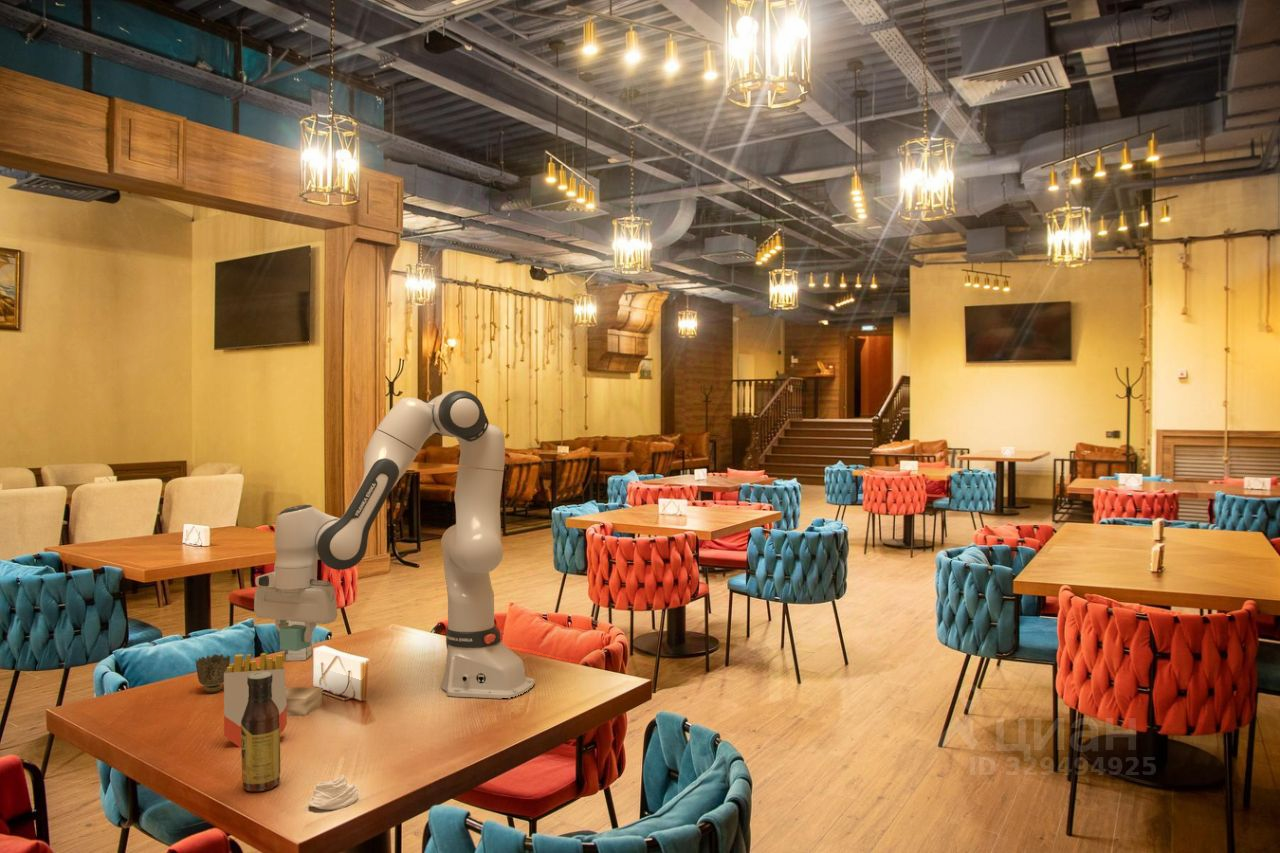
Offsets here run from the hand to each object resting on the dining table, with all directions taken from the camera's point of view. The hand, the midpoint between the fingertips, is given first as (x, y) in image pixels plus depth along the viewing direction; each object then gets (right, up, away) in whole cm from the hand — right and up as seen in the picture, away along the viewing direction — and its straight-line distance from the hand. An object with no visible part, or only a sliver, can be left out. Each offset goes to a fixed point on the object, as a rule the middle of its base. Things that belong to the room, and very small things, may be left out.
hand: (295, 640), depth 191 cm
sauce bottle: (+10, -16, -41) cm, 45 cm away
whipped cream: (+25, -16, -47) cm, 55 cm away
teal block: (0, -2, 0) cm, 2 cm away
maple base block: (0, -16, 0) cm, 16 cm away
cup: (-25, -16, +13) cm, 32 cm away
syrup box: (-16, -15, +42) cm, 47 cm away
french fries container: (0, -16, -19) cm, 25 cm away
